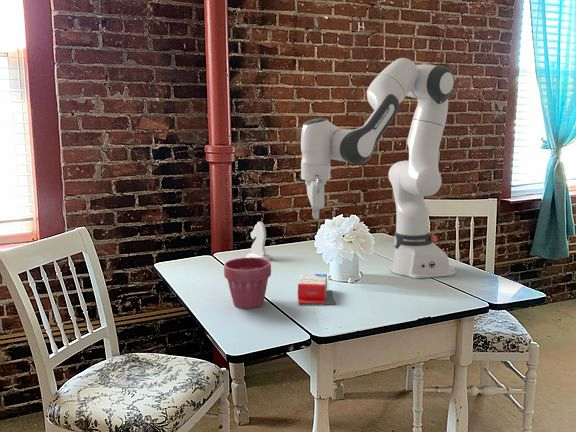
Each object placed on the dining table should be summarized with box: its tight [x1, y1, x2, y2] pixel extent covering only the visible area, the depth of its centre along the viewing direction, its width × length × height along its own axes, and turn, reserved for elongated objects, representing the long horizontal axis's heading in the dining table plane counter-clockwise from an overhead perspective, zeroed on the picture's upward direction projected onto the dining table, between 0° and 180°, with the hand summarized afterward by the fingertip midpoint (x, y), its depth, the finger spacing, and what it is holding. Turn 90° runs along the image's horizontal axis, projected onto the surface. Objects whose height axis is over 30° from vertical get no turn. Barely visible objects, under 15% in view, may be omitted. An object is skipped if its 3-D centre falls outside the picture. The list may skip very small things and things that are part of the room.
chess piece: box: [245, 221, 272, 261], centre depth 221 cm, size 10×10×15 cm
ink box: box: [297, 273, 328, 304], centre depth 179 cm, size 8×5×15 cm
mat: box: [298, 289, 337, 306], centre depth 178 cm, size 11×12×1 cm
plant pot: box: [223, 257, 272, 309], centre depth 173 cm, size 14×14×13 cm
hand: (315, 218), depth 175 cm, fingers closed
